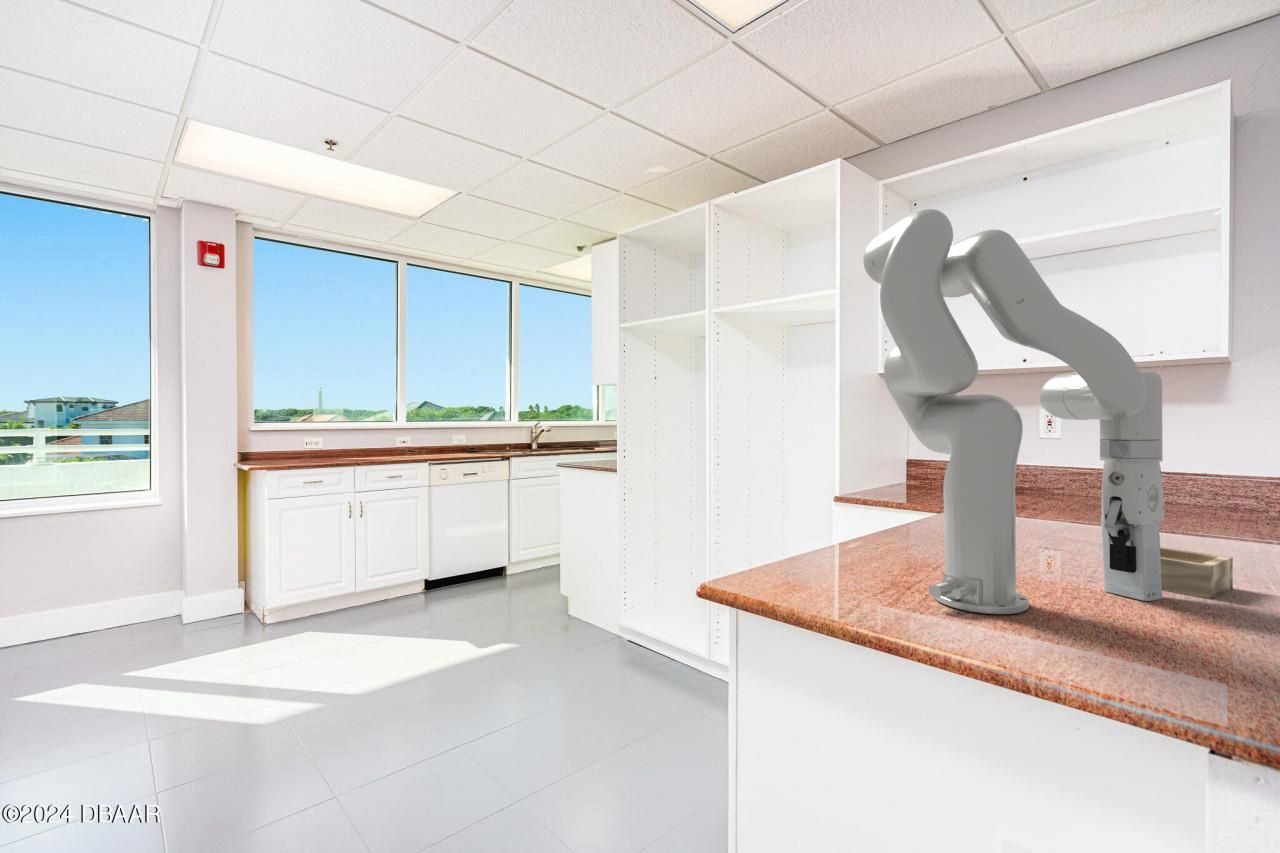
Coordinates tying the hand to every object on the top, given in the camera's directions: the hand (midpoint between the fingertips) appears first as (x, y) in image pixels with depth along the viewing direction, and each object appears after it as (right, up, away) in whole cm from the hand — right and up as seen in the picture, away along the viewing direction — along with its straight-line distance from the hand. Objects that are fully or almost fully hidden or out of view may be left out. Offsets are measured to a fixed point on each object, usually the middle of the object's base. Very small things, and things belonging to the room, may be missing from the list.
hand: (1130, 566), depth 93 cm
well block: (+11, -4, +4) cm, 13 cm away
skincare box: (0, -5, 0) cm, 5 cm away
